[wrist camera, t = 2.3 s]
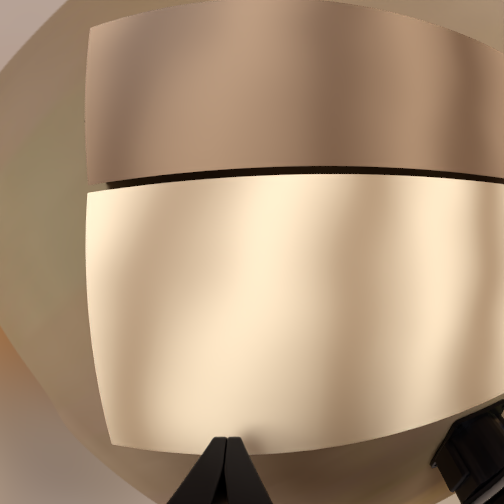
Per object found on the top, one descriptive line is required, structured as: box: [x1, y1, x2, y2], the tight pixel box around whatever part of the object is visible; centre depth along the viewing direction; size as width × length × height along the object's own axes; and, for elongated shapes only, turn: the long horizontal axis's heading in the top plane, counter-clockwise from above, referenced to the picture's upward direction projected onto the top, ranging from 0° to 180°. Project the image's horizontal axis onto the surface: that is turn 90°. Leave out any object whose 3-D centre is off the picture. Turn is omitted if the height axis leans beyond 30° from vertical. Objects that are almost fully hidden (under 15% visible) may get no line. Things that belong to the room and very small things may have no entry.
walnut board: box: [85, 0, 504, 185], centre depth 10 cm, size 20×7×2 cm, turn 93°
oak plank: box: [86, 174, 504, 455], centre depth 10 cm, size 20×10×2 cm, turn 93°
